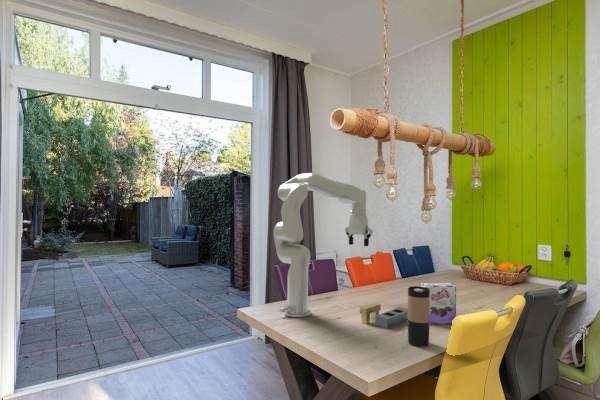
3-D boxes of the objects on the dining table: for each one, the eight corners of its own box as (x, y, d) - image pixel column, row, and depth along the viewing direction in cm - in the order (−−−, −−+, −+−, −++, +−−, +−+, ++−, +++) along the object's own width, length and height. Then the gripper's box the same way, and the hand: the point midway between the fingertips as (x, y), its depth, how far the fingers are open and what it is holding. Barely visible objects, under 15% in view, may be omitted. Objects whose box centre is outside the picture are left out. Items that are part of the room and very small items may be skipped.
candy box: (424, 324, 154) (425, 285, 154) (419, 320, 160) (419, 282, 160) (456, 324, 155) (456, 285, 155) (449, 319, 161) (450, 282, 161)
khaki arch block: (366, 324, 153) (366, 309, 153) (359, 322, 155) (359, 307, 156) (380, 318, 161) (380, 304, 161) (374, 317, 163) (374, 302, 163)
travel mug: (418, 338, 138) (418, 285, 138) (434, 345, 131) (434, 289, 131) (403, 341, 134) (403, 287, 134) (418, 349, 127) (419, 291, 128)
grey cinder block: (387, 329, 148) (387, 319, 148) (374, 325, 152) (374, 316, 152) (411, 318, 162) (411, 309, 162) (399, 315, 166) (399, 306, 166)
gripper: (341, 212, 197) (341, 244, 197) (368, 213, 185) (368, 247, 185) (349, 212, 202) (349, 243, 202) (376, 213, 190) (376, 246, 190)
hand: (358, 245), depth 193 cm, fingers open, 9 cm apart
